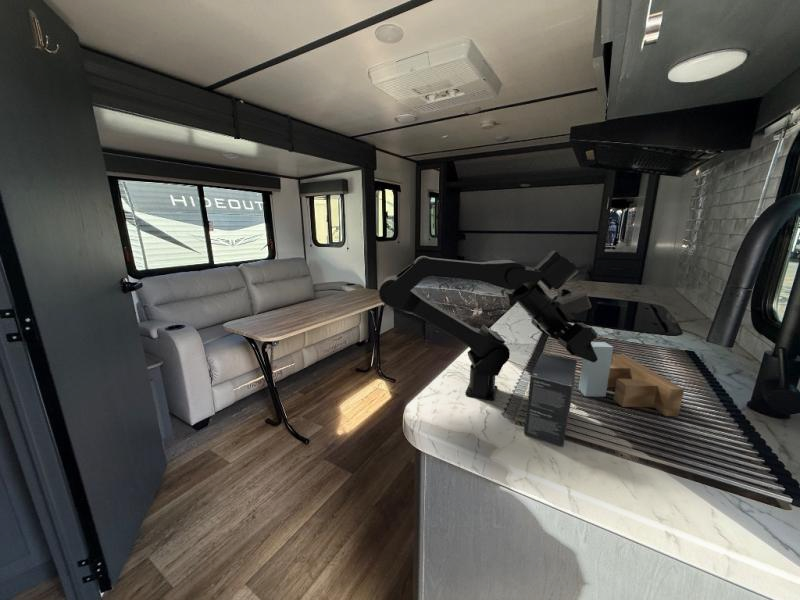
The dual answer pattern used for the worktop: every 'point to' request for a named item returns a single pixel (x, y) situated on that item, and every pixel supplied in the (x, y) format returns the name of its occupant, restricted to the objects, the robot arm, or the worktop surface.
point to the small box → (550, 398)
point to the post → (596, 371)
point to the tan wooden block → (643, 387)
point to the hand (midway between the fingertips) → (583, 352)
